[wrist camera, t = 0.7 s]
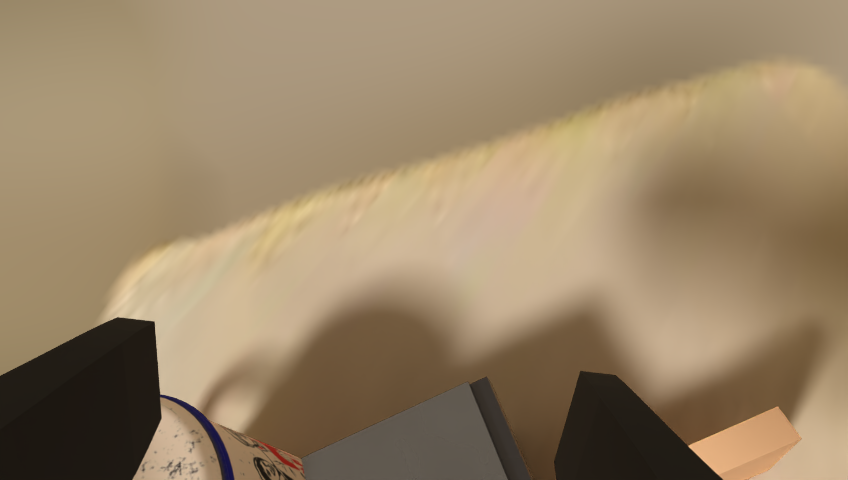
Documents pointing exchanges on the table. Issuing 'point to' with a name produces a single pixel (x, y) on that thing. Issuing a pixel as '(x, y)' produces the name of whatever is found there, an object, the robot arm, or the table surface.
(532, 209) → the table surface
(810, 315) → the table surface
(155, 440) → the teacup with lid
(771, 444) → the long wooden plank
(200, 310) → the table surface
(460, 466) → the dispenser
